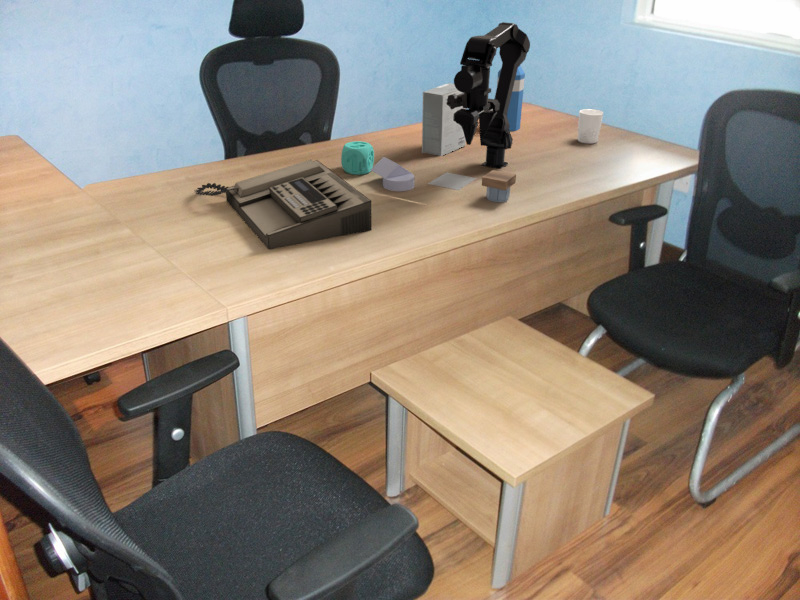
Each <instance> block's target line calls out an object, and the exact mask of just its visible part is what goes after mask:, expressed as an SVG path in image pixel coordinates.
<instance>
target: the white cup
mask: <svg viewBox="0 0 800 600" xmlns="http://www.w3.org/2000/svg"><path fill="white" fill-rule="evenodd" d="M578 112H579V114H578V123H577V141H578V142H579V143H582V144H588V145H589V144H596V143H598V141H599V137H600V132H601V128H602V122H603V118H604V111H602V110H598V109H594V108H592V109H591V108H585V109H580V110H579V111H578Z"/></svg>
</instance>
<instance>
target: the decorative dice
mask: <svg viewBox="0 0 800 600" xmlns="http://www.w3.org/2000/svg"><path fill="white" fill-rule="evenodd" d="M342 147H343V148H342V150H341V157H340V158H341V159H340V160H341V161H340V162H341V168H342V169H343V170H344V172H345V173H346V174H348V175H352V176H353V175H355V176H356V175H357V176H359V175H360V176H361V175H366V174H369V173H371V172H372V171H371V169H372V168H373V167H374V163H375V150H374V146H373V145H371V143H369V142H367V141H361V140H357V141H355V140H353V141H349V142H347V143H344V145H343V146H342Z"/></svg>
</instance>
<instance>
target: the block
mask: <svg viewBox="0 0 800 600" xmlns="http://www.w3.org/2000/svg"><path fill="white" fill-rule="evenodd" d="M516 181H517V174H516V173H510V172H504V171H499V170H495V169H494V170H493V169H492V170H490V171H489V172H487V173H486V174H485V175H483V176H482V177H481V186H483V187H486V188H487V187H491V188H496V189H502V190H507V189H508V188H509V187H510V188H511V187H512V186H514V184H516Z"/></svg>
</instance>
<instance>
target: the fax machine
mask: <svg viewBox="0 0 800 600" xmlns="http://www.w3.org/2000/svg"><path fill="white" fill-rule="evenodd" d="M206 189H211V190H207V191H205V190H206ZM212 189H213V191H212ZM215 190H216V191H215ZM221 194H225V197H226V202H227V203H228V205H229V206H230V207H231V208H232V209H233V210H234V211H235V212H236V214H237V215H238V216H239V217H240V218H241V219H242V221H245V222H244V223H245V224H246V225H247V226H248V227H249V229H250V228H251V229H252V230H251V229H250V230H251V231H252V232H253V233H254V235H257V236H258V237H257V236H256V237H257V238H258V239H259V240H260V241H261V243H262V244H263V243H264V244H263V245H264V246H265V247H266V248H267V250H274V249H279V248H285V247H290V246H295V245H301V244H306V243H310V242H311V243H312V242H318V241H321V240H322V241H323V240H327V239H332V238H337V237H343V236H348V235H354V234H359V233H364V232H370V231H372V200H371V199H370V198H368V197H367V196H366V195H364V194H363V193H361V192H360V191H359V190H358V189H356V188H355V187H354V186H352V184H350V183H348V182H347V181H345V180H344V179H343V177H341V176H339V174H337V173H335V172H334V171H332V170H331V168H328V167H327V166H326V165H324V164H323V163H322V162H321V161H320V160H318V159H316V160H312V159H308V160H305V161H302V162H298V163H296V164H292V165H288V166H286V167H282V168H279V169H276V170H273V171H268V172H266V173H263V174H260V175H256V176H253V177H250V178H247V179H243V180H241V181H237V182H235V184H234V185H232V186H225V185H221V184H219V183H218V184H217V183H216V182H214V183H212V184H211V183H210V182H208V183H206V184H201V187H197V188H196V190H195V195H199V196H208V197H209V196H210V197H215V196H218V195H221Z"/></svg>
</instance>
